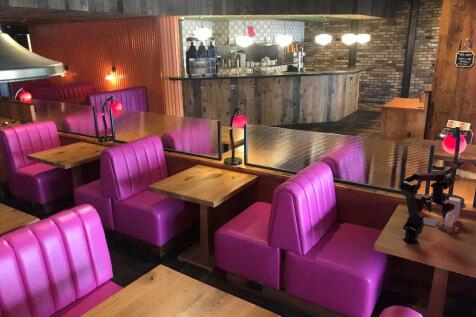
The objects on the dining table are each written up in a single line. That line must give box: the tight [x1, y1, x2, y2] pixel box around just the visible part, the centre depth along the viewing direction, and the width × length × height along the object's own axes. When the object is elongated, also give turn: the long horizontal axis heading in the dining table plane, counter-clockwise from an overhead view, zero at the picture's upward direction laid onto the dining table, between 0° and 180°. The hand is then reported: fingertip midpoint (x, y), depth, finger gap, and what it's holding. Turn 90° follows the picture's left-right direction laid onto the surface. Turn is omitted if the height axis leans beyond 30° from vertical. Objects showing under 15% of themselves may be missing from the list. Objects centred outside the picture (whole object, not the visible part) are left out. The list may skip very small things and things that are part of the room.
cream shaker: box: [444, 213, 455, 229], centre depth 244 cm, size 4×4×11 cm
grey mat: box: [423, 216, 440, 228], centre depth 255 cm, size 11×9×1 cm
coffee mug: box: [415, 193, 427, 213], centre depth 271 cm, size 12×9×10 cm
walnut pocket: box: [437, 222, 460, 234], centre depth 245 cm, size 8×8×2 cm
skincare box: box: [442, 196, 462, 224], centre depth 257 cm, size 8×6×15 cm
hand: (436, 215), depth 237 cm, fingers open, 9 cm apart
